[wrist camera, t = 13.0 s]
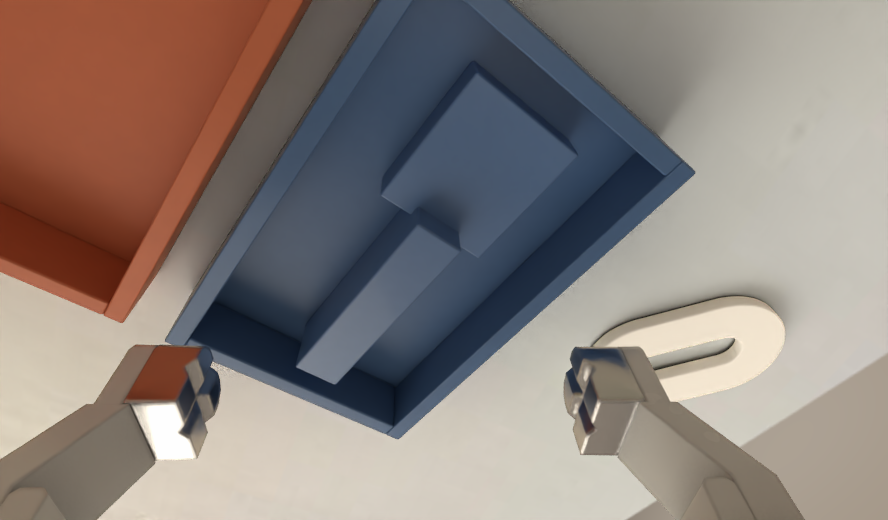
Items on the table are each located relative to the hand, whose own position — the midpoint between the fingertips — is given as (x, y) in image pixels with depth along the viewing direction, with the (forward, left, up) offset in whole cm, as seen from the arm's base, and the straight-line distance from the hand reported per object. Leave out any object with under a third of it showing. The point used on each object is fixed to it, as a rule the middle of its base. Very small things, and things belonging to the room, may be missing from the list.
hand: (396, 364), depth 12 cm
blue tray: (0, 0, -7) cm, 7 cm away
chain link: (+11, +3, -6) cm, 13 cm away
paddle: (0, 0, -6) cm, 6 cm away
